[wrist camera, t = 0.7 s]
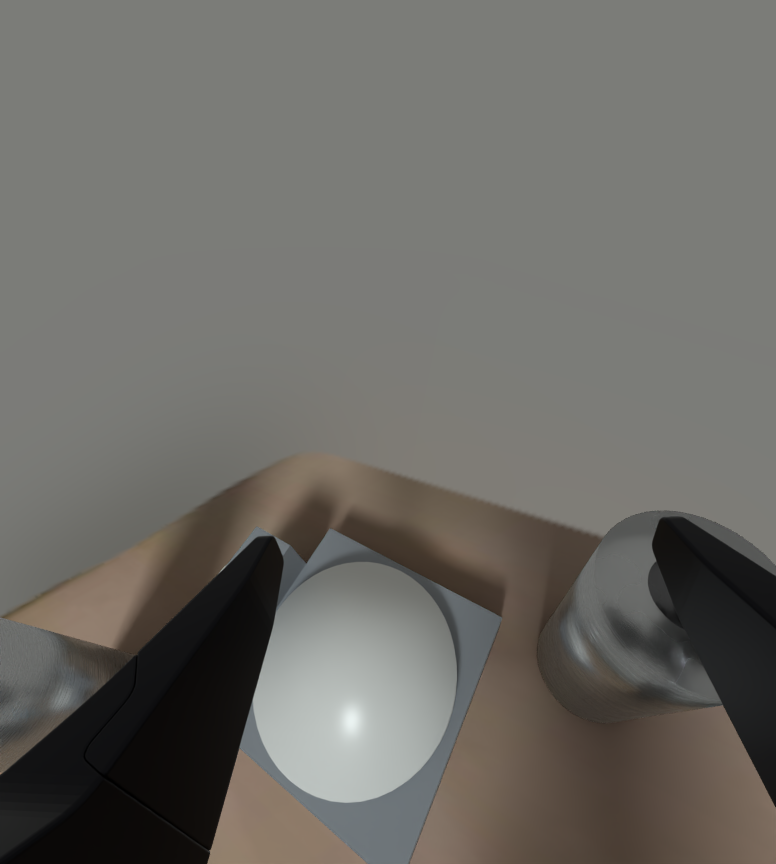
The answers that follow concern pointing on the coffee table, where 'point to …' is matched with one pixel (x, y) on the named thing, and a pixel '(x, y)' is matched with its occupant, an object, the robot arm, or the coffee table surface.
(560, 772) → the coffee table surface
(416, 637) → the scale
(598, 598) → the cylinder
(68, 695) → the silver metal cylinder
